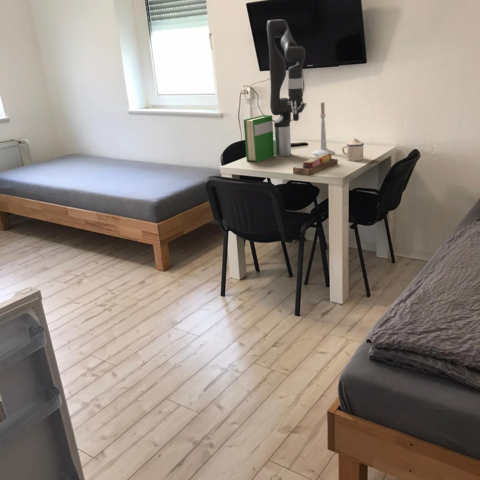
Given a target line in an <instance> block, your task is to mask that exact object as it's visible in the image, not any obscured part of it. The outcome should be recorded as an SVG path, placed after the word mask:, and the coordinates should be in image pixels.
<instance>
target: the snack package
mask: <svg viewBox="0 0 480 480" xmlns="http://www.w3.org/2000/svg"><path fill="white" fill-rule="evenodd" d="M332 159H333V158H332V155H331V154H329V153H326V152H324V153H321V154H319V155H317V156H316V155H315V156H313V157H311V158H310V159H308V160H305V161H304V162H302V163H303V164H302V168H305V169H310V168H313V167H316V166H319V165H321V164H324V163H327V162H329V161H331V160H332Z"/></svg>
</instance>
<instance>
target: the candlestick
mask: <svg viewBox="0 0 480 480" xmlns="http://www.w3.org/2000/svg"><path fill="white" fill-rule="evenodd" d="M319 116H320V119H321V121H320V147H319V149H316V150H313V151H312V155H313V156H315V157H316V156H317V155H319V154H321V153H324V152H326V153H329V154H331V156H332V155H335V150H333V149H331V148H327V136H326V135H327V133H326V123H325V122H326V120H325V118H326V113H325V102H324V101H323V102H320V114H319Z"/></svg>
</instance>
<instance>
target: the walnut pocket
mask: <svg viewBox="0 0 480 480" xmlns="http://www.w3.org/2000/svg"><path fill="white" fill-rule="evenodd" d="M338 160H339V159H337V158H332V160H331V161H329V162H327V163H324V164H321V165H319V166H316V167H313V168H310V169H305V168H303V167H296V166H293V167H292V173H293V174H298V175H303V174H304V175H305V176H312V175H314V174H316V173H319V172H322V171H324V170H325V171H326V170H328V169H331V168H333V167H334V166H335V167H336V166H338Z"/></svg>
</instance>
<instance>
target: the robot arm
mask: <svg viewBox="0 0 480 480" xmlns="http://www.w3.org/2000/svg"><path fill="white" fill-rule="evenodd" d="M266 33H267V34H266V35H267V42H268V43H267V45H268V51H269V52H268V55H269V56H268V57H269V77H270V98H269V99H270V102H269V105H270V106H269V107H270V111H271V115H272V116H279V117H278V118H277V119H276V120H275V121H274V122H273V131H274V138H273V141H274V156H275V157H288V156H292V146H291V145H292V144H291V141H292V139H291V121H292V120H293V121H294V122H299V119H300V117H299V116H300V115H299V114H300V113H302V112H303V111H304V110H305V108H306V106H307V102H304V100H303V93H304V92H303V91H304V89H303V82H304V81H303V65H304V62H305V58H306V49H305V48H304V47H303V46H302V45H301V46H299V45H298V44H297V42H296V41H295V40H294V37H293V36H292V33H291V30H290V27H289V24H288V22H287V20H285V19H282V18H281V19H280V18H279V19H270V20H267V23H266ZM275 38H276V39H278V38H281V39H280V45H281V48H282V49H283V51H284V56H283V55H282V53H281V52H280V50H279V48H278V47H277V44H276V40H275ZM286 61H287V62H290V63H291V62H296V63H295V65H292V66H290V67H289V66H288V68H287V64H286V63H287V62H286ZM287 69H288V70H287ZM287 71H288V72H287ZM287 73H288V79H287V81H288V84H287V86H288V87H287V91H288V93H287V94H288V98H287V97H281V88H282V86H283V84H284V81H285V79H286V75H287Z"/></svg>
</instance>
